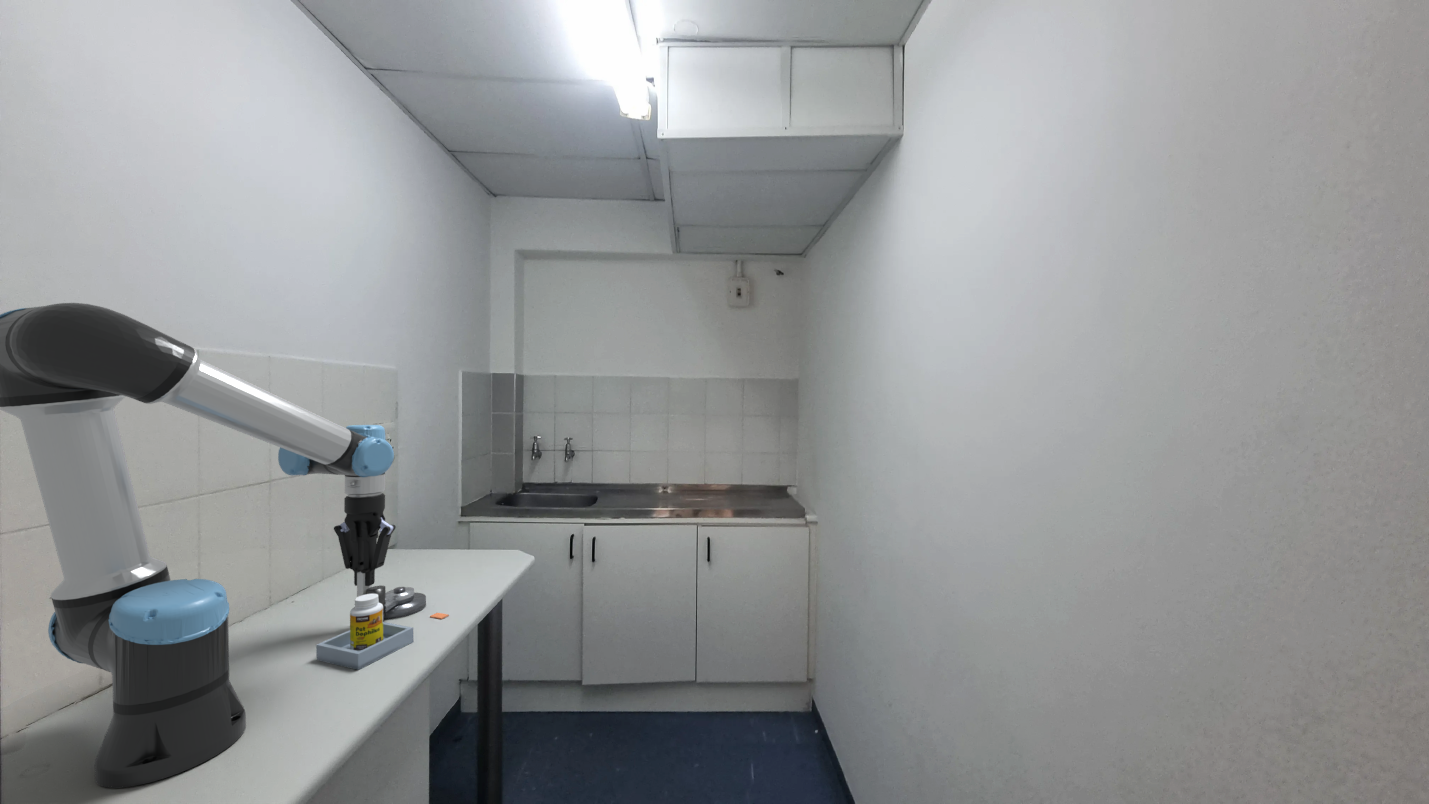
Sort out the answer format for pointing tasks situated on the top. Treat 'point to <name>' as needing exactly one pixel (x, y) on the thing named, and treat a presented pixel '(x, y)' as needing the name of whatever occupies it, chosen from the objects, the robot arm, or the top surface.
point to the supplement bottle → (366, 622)
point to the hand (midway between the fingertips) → (364, 599)
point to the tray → (342, 655)
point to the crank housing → (407, 607)
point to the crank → (392, 596)
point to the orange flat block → (439, 615)
